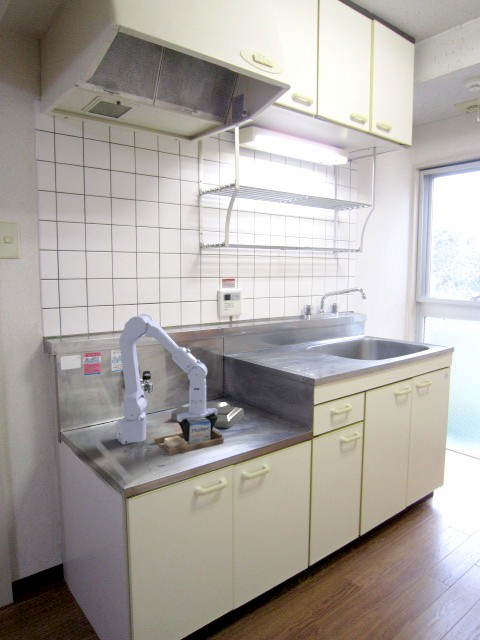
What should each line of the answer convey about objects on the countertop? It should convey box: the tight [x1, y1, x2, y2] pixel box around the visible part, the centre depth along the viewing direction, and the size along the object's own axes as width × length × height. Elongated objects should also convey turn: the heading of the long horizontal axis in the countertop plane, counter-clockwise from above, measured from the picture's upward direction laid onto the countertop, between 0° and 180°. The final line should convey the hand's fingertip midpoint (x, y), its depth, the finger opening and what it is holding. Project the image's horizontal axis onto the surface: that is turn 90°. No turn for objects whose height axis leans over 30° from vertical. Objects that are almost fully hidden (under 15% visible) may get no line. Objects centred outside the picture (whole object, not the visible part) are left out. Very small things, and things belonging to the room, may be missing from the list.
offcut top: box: [163, 436, 188, 449], centre depth 143 cm, size 5×7×2 cm
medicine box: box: [186, 418, 211, 445], centre depth 148 cm, size 8×4×9 cm, turn 122°
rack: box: [153, 428, 225, 456], centre depth 146 cm, size 20×12×4 cm, turn 124°
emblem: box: [170, 401, 245, 429], centre depth 176 cm, size 28×5×28 cm
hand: (197, 438), depth 148 cm, fingers closed on medicine box, 7 cm apart
